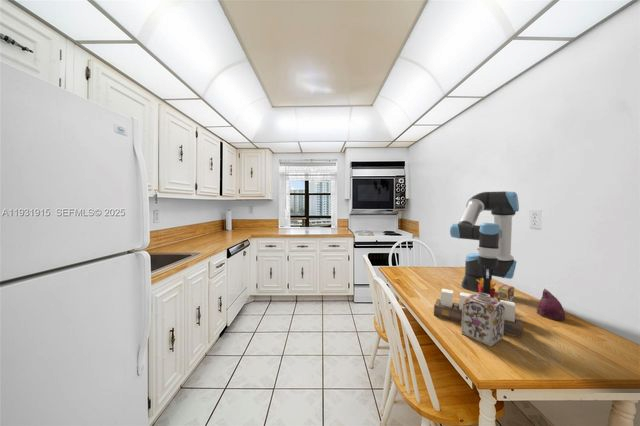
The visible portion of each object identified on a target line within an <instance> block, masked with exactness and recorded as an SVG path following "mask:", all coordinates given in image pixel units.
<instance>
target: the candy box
mask: <svg viewBox="0 0 640 426" xmlns="http://www.w3.org/2000/svg"><path fill="white" fill-rule="evenodd" d="M497 288H498V290H497V299H496V300H498V301H499V302H500V300H504V301H509V302H514V301H515V299H514V298H515V286H514V285H511V284H510V285H509V284H503V285H501V286H499V287H497Z"/></svg>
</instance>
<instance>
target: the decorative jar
mask: <svg viewBox="0 0 640 426" xmlns="http://www.w3.org/2000/svg"><path fill="white" fill-rule="evenodd" d="M470 294H471V293H470ZM504 314H505V308H504V306H503V305H502V304H501V303H500V302H499V301H498V300H497V299H496V298H495V297H494V298H491V297H490V295H488V294H485V293H479V292H477V293H476V294H471V295H469V296H467V298H466V299H465V301H464V302H463V308H462V322H461V326H460V327H461V329H460V331H461V334H462V335H464V336H467V337H468V338H471V339H472V340H475V341H477V342H480V343H482V344H484V345H485V346H489V347H493V346H494V345H495V344H497V343H498V342H499V341H501V340H503V339H504V333H503V332H504Z"/></svg>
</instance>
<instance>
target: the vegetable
mask: <svg viewBox="0 0 640 426" xmlns="http://www.w3.org/2000/svg"><path fill="white" fill-rule="evenodd" d="M536 307H537V308H536V314H537V315H539V316H541V317H542V318H546V319H549V320H553V321H560V322H561V321H565V320H566V314H565V311H564V308H563V305H562V304H561V302H560V301H559V299H558V298H557V297H556V296H555V295H554V294H552V293H551V292H550V291H549V290H548V289H546V288H544V289H543V290H542V296H541V298H540V299H539V302H538V304H537V306H536Z"/></svg>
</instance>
